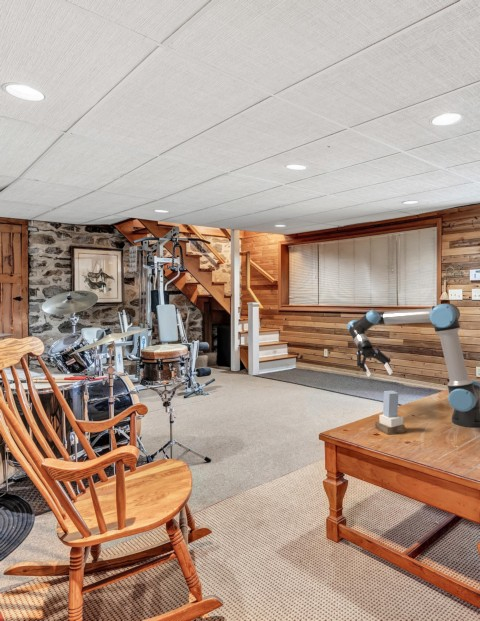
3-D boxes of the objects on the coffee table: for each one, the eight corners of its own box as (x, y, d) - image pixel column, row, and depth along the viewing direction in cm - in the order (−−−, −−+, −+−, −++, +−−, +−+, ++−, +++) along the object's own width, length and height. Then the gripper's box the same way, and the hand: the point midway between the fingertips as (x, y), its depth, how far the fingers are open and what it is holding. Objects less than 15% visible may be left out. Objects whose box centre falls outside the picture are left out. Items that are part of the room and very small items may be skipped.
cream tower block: (391, 420, 215) (391, 412, 215) (403, 424, 208) (403, 416, 208) (379, 422, 212) (379, 415, 211) (391, 427, 204) (391, 419, 204)
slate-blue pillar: (391, 413, 213) (392, 390, 212) (397, 416, 208) (398, 393, 207) (382, 413, 212) (383, 391, 211) (388, 417, 207) (389, 393, 206)
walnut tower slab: (391, 427, 217) (391, 419, 217) (404, 433, 207) (404, 425, 207) (375, 429, 214) (375, 421, 214) (387, 435, 204) (387, 427, 204)
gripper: (379, 346, 240) (396, 376, 227) (341, 349, 233) (357, 381, 219) (384, 338, 235) (403, 368, 221) (346, 341, 227) (363, 372, 214)
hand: (380, 374), depth 220 cm, fingers open, 13 cm apart
